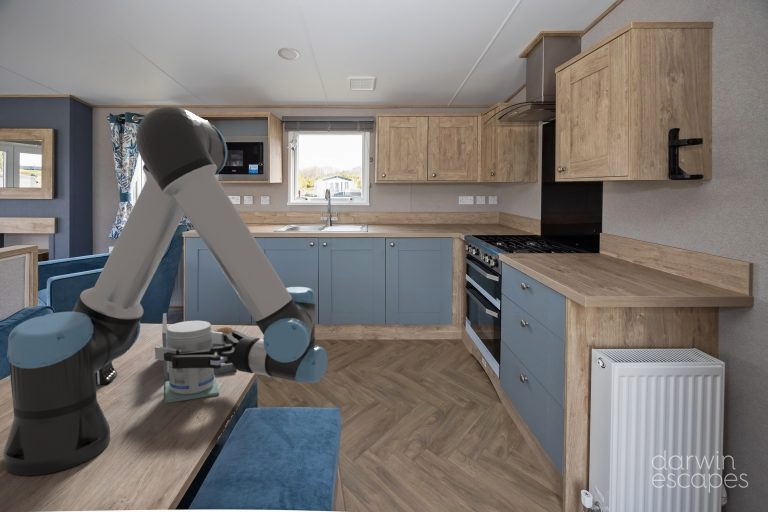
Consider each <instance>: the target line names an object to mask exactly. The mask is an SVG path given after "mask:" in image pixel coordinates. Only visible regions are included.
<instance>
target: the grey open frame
mask: <svg viewBox="0 0 768 512" xmlns="http://www.w3.org/2000/svg"><path fill="white" fill-rule="evenodd" d="M167 319H168V318H167V312H164V313H162V329H161V330H162V331H161V337H162V339H161V341H162V347H166V348H167V328H168V321H167ZM224 345H225V341H224V344H215V343H212V346H213V347H218V346H224ZM162 361H163V360H162ZM162 363H163V381H164V382H167V381H169V368H168V361H163V362H162ZM237 371H238V370H237V369H236V368H235V367H234V365H233V364H232V363H228V364H225V363H221V368H219V369H215V368H214V375H219V374H220V375H221V374H224V373H225V374H226V373H234V372H237Z"/></svg>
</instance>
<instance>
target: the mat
mask: <svg viewBox="0 0 768 512" xmlns="http://www.w3.org/2000/svg"><path fill="white" fill-rule="evenodd" d="M164 382H165V385H164V386H165V387H164V388H165V391H164V394H165V395H164V404H170V403H175V402H181V401H188V400H194V399H200V398H207V397H215V396H219V395H220V392H219V387H218V383H217V380H216V374H214V383H213V385H212V386H211V387H210V388H208V389H207V390H204V391H201V392H199V393H194V394H177V393H174V392H173V391H172V390H171V389H170V383H169V381H164Z"/></svg>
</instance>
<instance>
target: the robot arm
mask: <svg viewBox="0 0 768 512" xmlns="http://www.w3.org/2000/svg"><path fill="white" fill-rule="evenodd" d="M135 135H136V138H135V141H136V146H137V147H136V148H137V151H138V153H139V156H140V158H141V160H142V162H143V166H142V171H143V174H144V175H145V177H146V181H145V183H144V184H143V187H142V189H141V190H140V193H139V195H138V197H137V199H136V201H135V202H134V205H133V207H132V209H131V212H130V213H129V215H128V217H127V220H126V221H125V223H124V225H123V227H122V230H121V231H120V234H119V235H118V237H117V240H116V242H115V243H114V246H113V248H112V250H111V252H110V254H109V256H108V258H107V260H106V262H105V264H104V266H103V269H102V271H101V272H100V275H99V277H98V278H97V281H96V282H95V285H94V286H93V287H91V288H87V289H84V290H83V291H82V292H81V293H80V295H79V296H78V299H77V301H76V303H75V305H74V307H73V309H72V311H60V312H52V313H45V315H43V316H42V315H41V316H35V317H33V318H29V319H27V320H25V321H23V322H21V323H19V324H18V325H16V326H15V327H14V328H13V329H12V330H11V331H10V333H9V335H8V339H7V340H8V341H7V351H6V356H7V357H6V358H7V361H8V366H9V374H10V375H9V376H10V384H11V385H10V386H11V388H10V389H11V397H12V406H13V407H12V408H13V421H12V424H11V427H10V430H9V434H8V436H7V439H6V443H5V446H4V450H3V463H4V468H5V470H6V471H7V472H9V473H11V474H14V475H19V476H40V475H46V474H53V473H56V472H61V471H64V470H68V469H70V468H73V467H76V466H78V465H81V464H83V463H84V462H87V461H89V460H91V459H93V458H94V457H96V456H98V455H99V454H101V453H102V452H103V451H104V450H105V449H106V448H107V447H108V446H109V444H110V442H111V427H110V424H109V422H108V420H107V418H106V416H105V414H104V412H103V409H102V408H101V406H100V404H99V402H98V399H97V384H96V381H95V373H96V372H97V371H99V370H100V369H102V368H103V367H104V366H106V365H107V364H109V363H110V362H112V363H113V361H115V360H116V359H118V358H120V357H122V356H123V355H125V354H126V353H127V352H128V351H129V350H130V349H131V348H132V347H133V345H135V343H136V342H137V340H138V337H139V335H140V333H141V318H142V317H143V315H144V308H143V306H142V304H141V301H142V299H143V297H144V295H145V293H146V291H147V289H148V287H149V285H150V283H151V281H152V279H153V277H154V275H155V273H156V271H157V269H158V267H159V265H160V263H161V261H162V259H163V257H164V255H165V252H166V251H167V249H168V247H169V245H170V243H171V241H172V239H173V237H174V235H175V233H176V231H177V228H178V227H179V225H180V223H181V221H182V220H183V217H184V215H185V216H186V217H187V219H188V221H189V223H190V224H191V226H192V227H193V229H194V230H195V232H196V233H197V235H198V236H199V238H200V239H201V242H203V244H204V246H205V247H206V249H207V250H208V251H209V253H210V255H211V256H212V257H213V259H214V261H215V262H216V265H218V267H219V268H220V271H221V272H222V273H223V275H224V276H225V278H226V279H227V280H228V282H229V284H230V285H231V287H232V288H233V290H234V291H235V293H236V294H237V296H238V297H239V299H240V301H241V302H242V304H243V305H244V306H245V308H246V310H247V311H248V313H249V314H250V317H251V318H252V319H253V320H254V322H255V323H256V326H257V327H258V328H259V330H260V332H261V333H262V335H263V337H262V338H259V337H253V336H248V335H246V334H245V333H243V332H240V331H238V330H234V331H232V333H230V332H227V333H225V334H224V333H222V332H215V331H216V330H212V343H215V344H224V341H225V345H224V346H218V347H212V348H211V349H209V350H198V351H187V352H181V350H179V349H172V348H166V347H163V346H159V345H158V346H154V357H155V359H154V360H158V361H168V362H172V368H173V369H179V368H215V369H219V368H221V364H228V363H232V364H233V365H234V367H235V368H236V369H237V371H239V372H243V373H246V374H255V375H261V376H266V377H267V378H272V377H273V378H277V379H283V380H288V381H292V382H293V381H294V382H295V383H305V384H306V383H307V384H315V383H318V382H319V381H320V380H322V378H323V377H324V375H325V373H326V371H327V369H328V355H327V351H326V349H324V347H322V346H319V345H316V336H315V335H316V306H317V303H316V293H315V291H314V289H312V288H310V287H305V286H290V287H286V286H285V284H284V283H283V281H282V280H281V277H279V275H278V274H277V272H276V270H275V269H274V267H273V265H272V264H271V262H270V260H269V259H268V258H267V256H266V254H265V252H264V251H263V249H262V248H261V247H260V245H259V243H258V241H257V240H256V238H255V237H254V235H253V233H252V232H251V230H250V229H249V226H248V225H247V224H246V222H245V221H244V219H243V218H242V216H241V214H240V212H239V211H238V209H237V208H236V207H235V205H234V204H233V201H232V200H231V199H230V197H229V195H228V194H227V192H226V190H225V189H224V187H223V186H222V184H221V183H220V181H219V179H218V178H217V175H218V174H219V173H220V172H221V171H222V169H223V168H224V166H225V165H226V162H227V158H228V146H227V144H226V143H227V142H226V139H225V138H224V136H223V134H222V133H221V132H220V131H219V129H218V128H216V126H215V125H214V124H212V123H210V122H209V121H208V120H207V119H204V118H202V117H199V116H198V115H195V114H194V113H192V112H191V111H189V110H187V109H185V108H182V107H178V106H162V107H158V108H156V109H153V110H151V111H150V112H149V113H147V114H146V115H145V116H144V117H143V118H142V119H141V121H140V123H139V124H138V127H137V130H136V134H135ZM215 353H216V354H215Z"/></svg>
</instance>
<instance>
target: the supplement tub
mask: <svg viewBox="0 0 768 512" xmlns="http://www.w3.org/2000/svg"><path fill="white" fill-rule="evenodd" d="M212 331H213V330H212V326H211V323H210V322H209V321H205V320H187V321H180V322H176V323H173V324H171V325H168V326H167V348H172V349H179V350H181V352H187V351H198V350H209V349H211V348H212V347H213V346H212ZM168 368H169V383H170V389H171V390H172V391H173V392H174V393H177V394H194V393H199V392H201V391H204V390H207V389H208V388H210V387H211V386H212V385H213V383H214V375H215V374H214V368H179V369H173V368H172V362H168Z"/></svg>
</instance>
